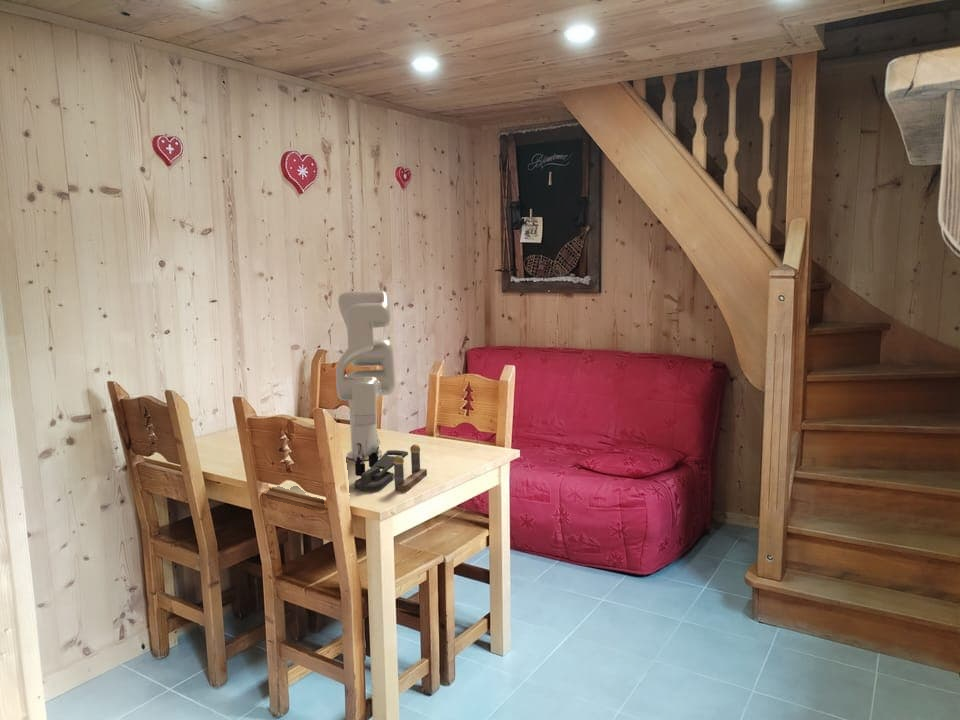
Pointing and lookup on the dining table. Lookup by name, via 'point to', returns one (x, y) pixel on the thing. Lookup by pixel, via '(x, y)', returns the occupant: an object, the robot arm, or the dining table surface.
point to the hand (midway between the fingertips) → (367, 471)
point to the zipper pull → (378, 473)
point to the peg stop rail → (416, 474)
